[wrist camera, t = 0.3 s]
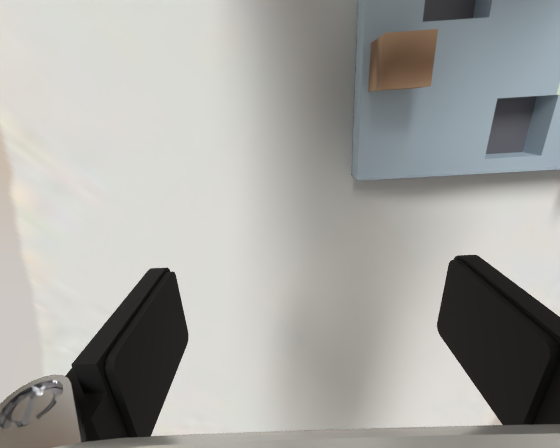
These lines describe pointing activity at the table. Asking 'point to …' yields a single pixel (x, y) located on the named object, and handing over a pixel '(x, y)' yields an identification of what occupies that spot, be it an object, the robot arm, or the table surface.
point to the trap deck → (462, 91)
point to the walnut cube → (402, 60)
